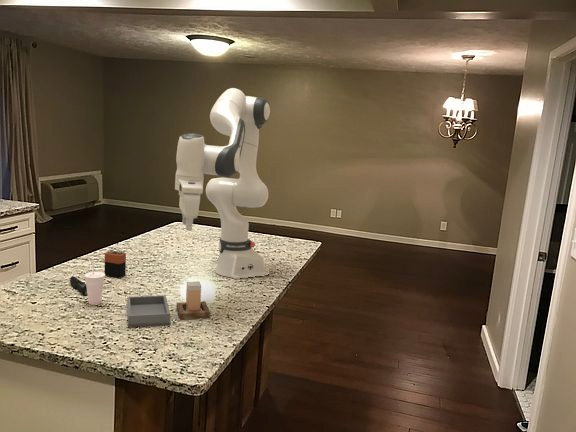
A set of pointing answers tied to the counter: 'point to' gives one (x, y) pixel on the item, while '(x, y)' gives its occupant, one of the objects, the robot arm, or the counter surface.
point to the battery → (115, 263)
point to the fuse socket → (192, 314)
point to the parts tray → (148, 311)
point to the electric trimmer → (79, 285)
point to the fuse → (193, 296)
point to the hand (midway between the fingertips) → (187, 227)
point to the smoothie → (94, 286)
